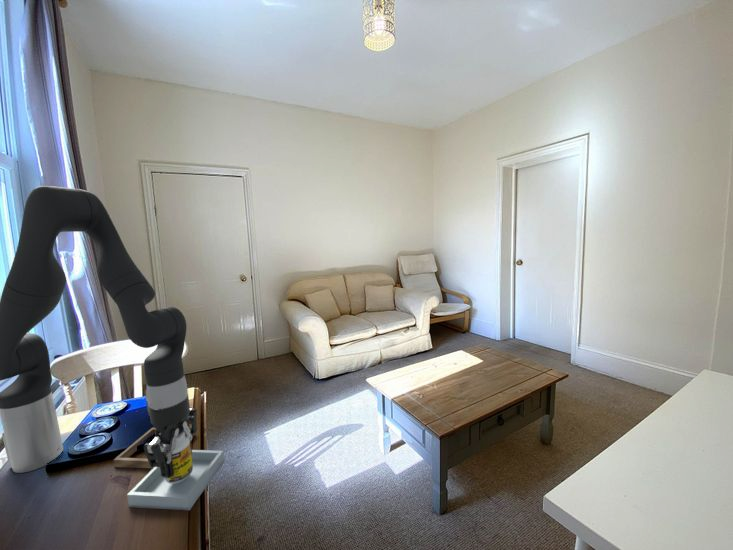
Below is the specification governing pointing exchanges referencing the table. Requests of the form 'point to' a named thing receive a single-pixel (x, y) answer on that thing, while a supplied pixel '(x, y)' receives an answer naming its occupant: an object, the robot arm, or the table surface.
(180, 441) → the supplement bottle
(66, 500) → the table surface
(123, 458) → the corral
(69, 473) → the table surface
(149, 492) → the bin
